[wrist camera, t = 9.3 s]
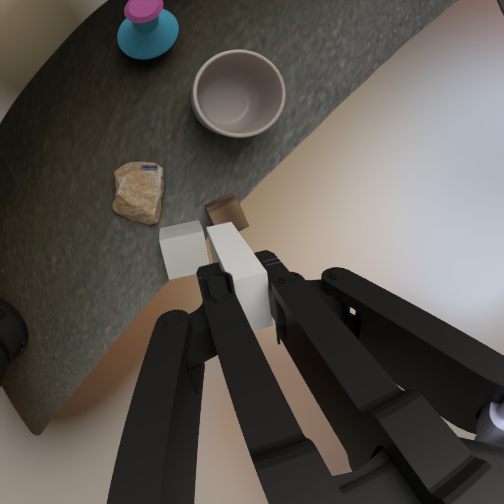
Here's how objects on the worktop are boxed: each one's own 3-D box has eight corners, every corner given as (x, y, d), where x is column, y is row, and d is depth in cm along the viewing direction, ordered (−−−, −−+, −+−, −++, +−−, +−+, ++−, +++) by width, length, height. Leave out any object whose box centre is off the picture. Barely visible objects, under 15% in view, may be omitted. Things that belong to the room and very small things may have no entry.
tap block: (168, 264, 51) (169, 279, 46) (159, 228, 48) (159, 240, 43) (205, 256, 53) (210, 270, 48) (199, 219, 50) (203, 231, 45)
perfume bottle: (162, 9, 33) (164, -33, 20) (186, 48, 37) (196, 15, 24) (113, 35, 33) (94, 1, 19) (136, 75, 37) (123, 51, 24)
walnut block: (216, 229, 51) (221, 239, 47) (204, 205, 49) (208, 213, 45) (241, 217, 52) (249, 226, 48) (230, 192, 50) (237, 199, 45)
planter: (189, 139, 44) (195, 141, 34) (185, 67, 39) (191, 50, 29) (262, 134, 47) (287, 136, 37) (260, 66, 42) (284, 51, 32)
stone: (167, 162, 45) (167, 165, 41) (159, 223, 48) (158, 232, 44) (118, 158, 42) (113, 160, 38) (112, 219, 46) (107, 227, 42)
